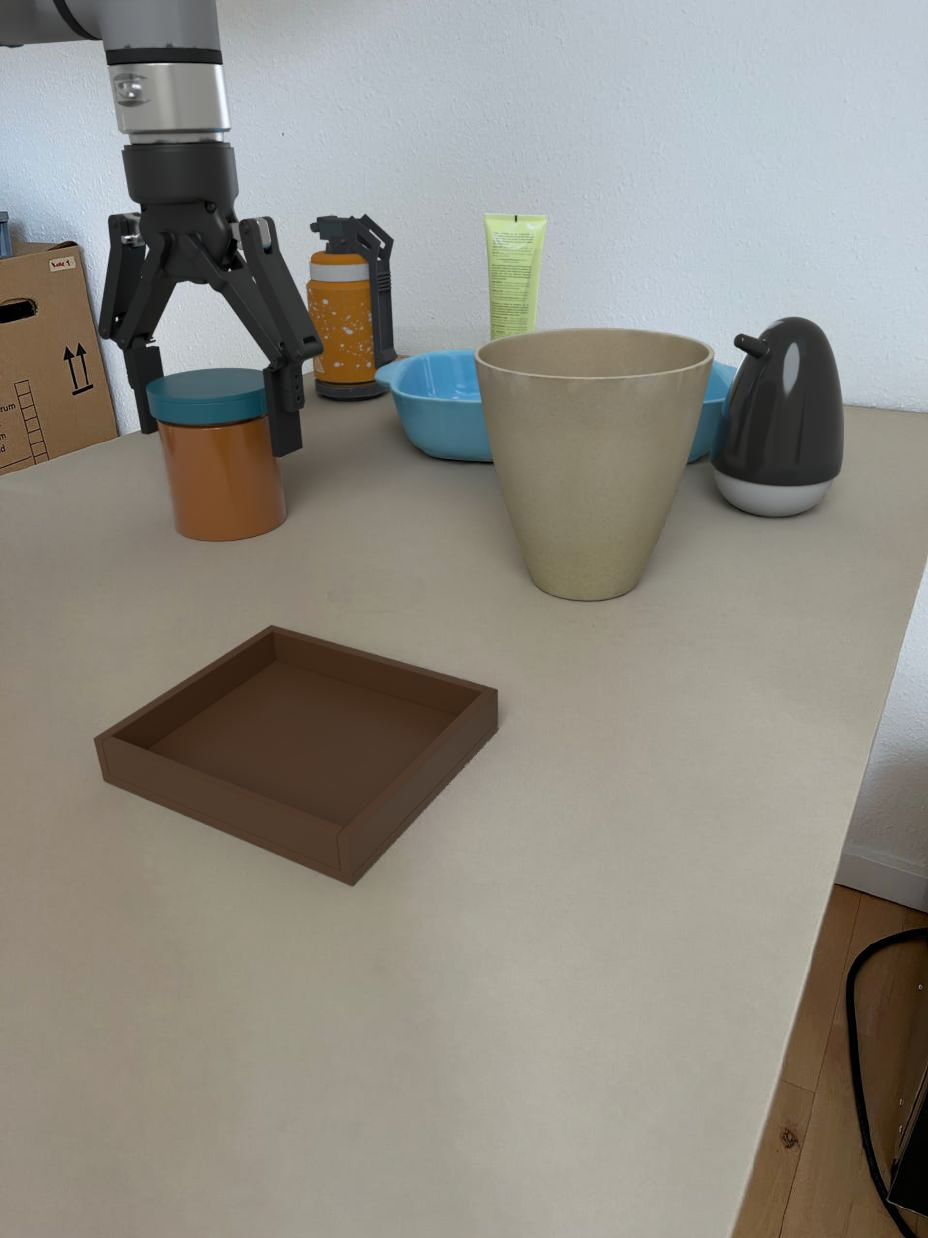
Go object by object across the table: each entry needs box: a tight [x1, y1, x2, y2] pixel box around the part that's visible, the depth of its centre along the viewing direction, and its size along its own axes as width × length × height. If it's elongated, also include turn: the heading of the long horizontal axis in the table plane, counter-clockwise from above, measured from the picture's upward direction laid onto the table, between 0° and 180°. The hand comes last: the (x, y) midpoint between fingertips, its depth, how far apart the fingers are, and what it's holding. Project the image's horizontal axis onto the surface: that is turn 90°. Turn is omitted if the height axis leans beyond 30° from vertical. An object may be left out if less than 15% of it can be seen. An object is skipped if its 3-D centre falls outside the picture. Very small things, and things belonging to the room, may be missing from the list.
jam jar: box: [156, 412, 287, 542], centre depth 75 cm, size 9×9×11 cm
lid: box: [146, 367, 267, 424], centre depth 73 cm, size 10×10×2 cm
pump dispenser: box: [709, 316, 845, 518], centre depth 74 cm, size 10×10×15 cm
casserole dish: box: [374, 348, 738, 464], centre depth 93 cm, size 37×22×7 cm, turn 86°
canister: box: [305, 213, 399, 401], centre depth 108 cm, size 9×11×20 cm
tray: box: [93, 624, 499, 887], centre depth 48 cm, size 15×13×3 cm
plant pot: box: [474, 327, 716, 602], centre depth 63 cm, size 15×15×16 cm
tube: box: [483, 212, 548, 341], centre depth 110 cm, size 6×5×20 cm
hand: (220, 440), depth 74 cm, fingers open, 13 cm apart
